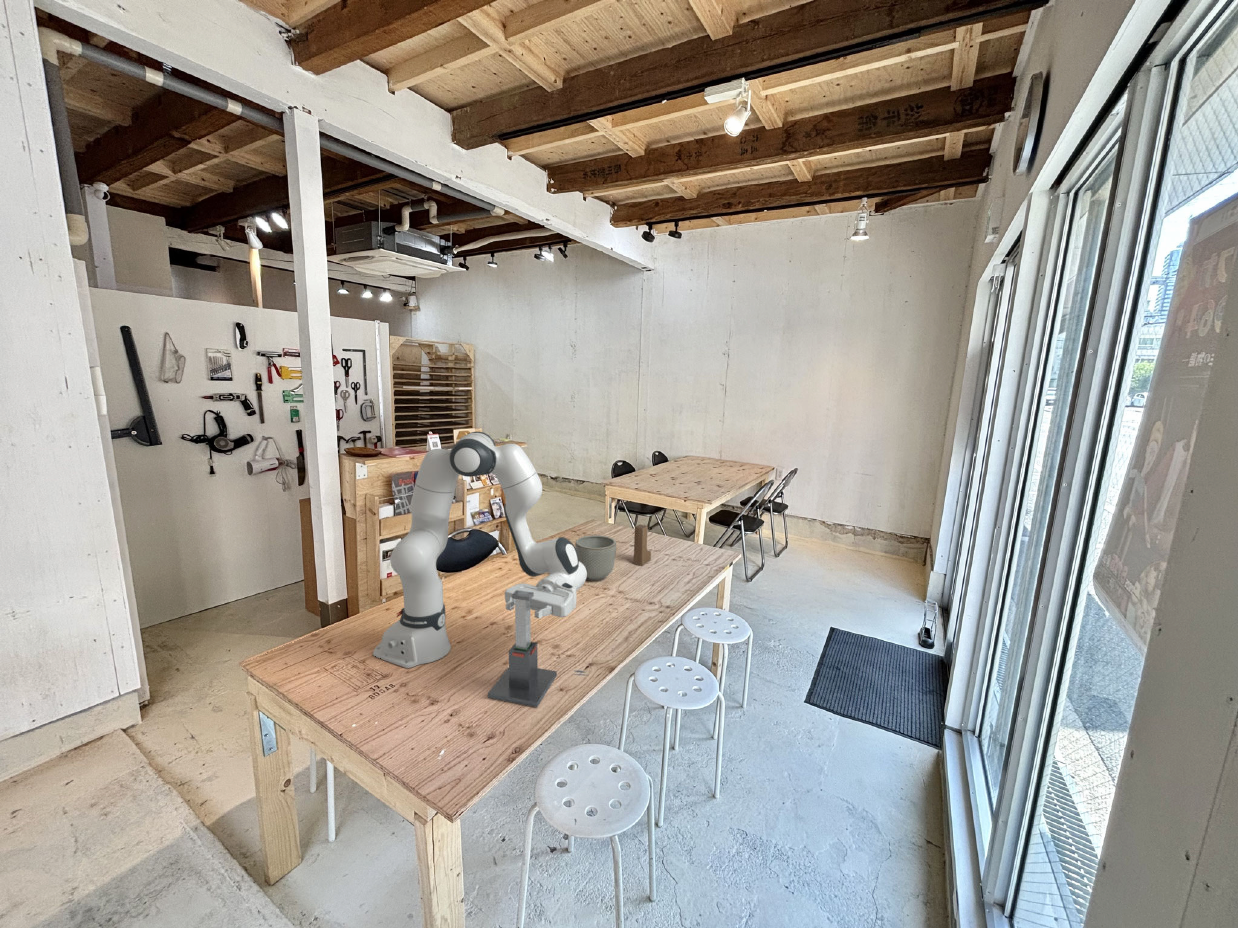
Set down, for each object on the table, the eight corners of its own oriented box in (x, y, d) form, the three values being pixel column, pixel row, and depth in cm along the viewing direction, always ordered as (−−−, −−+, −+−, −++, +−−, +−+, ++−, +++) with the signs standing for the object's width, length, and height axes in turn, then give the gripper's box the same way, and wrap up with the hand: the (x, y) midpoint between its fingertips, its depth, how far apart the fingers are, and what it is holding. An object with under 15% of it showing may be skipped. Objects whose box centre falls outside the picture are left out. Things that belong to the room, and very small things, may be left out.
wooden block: (642, 558, 233) (643, 521, 230) (651, 560, 231) (652, 523, 227) (633, 564, 225) (634, 526, 222) (641, 566, 223) (643, 528, 220)
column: (512, 663, 133) (511, 594, 130) (517, 657, 136) (516, 589, 133) (529, 666, 132) (528, 597, 128) (534, 660, 135) (533, 592, 132)
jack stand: (488, 697, 130) (487, 656, 128) (511, 668, 144) (511, 630, 142) (537, 707, 127) (537, 665, 125) (556, 675, 141) (556, 637, 138)
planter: (614, 586, 201) (615, 549, 198) (572, 585, 201) (573, 547, 198) (616, 570, 218) (616, 535, 215) (577, 568, 218) (577, 534, 215)
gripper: (521, 574, 147) (490, 592, 135) (580, 588, 139) (553, 608, 126) (521, 594, 148) (491, 613, 136) (580, 609, 140) (553, 631, 127)
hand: (522, 611), depth 131 cm, fingers open, 8 cm apart
